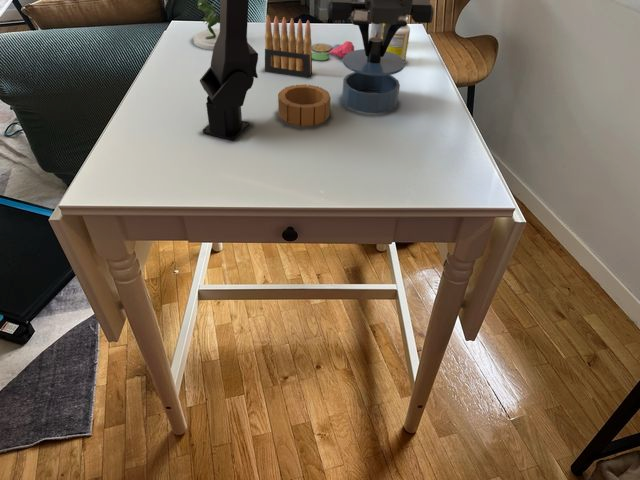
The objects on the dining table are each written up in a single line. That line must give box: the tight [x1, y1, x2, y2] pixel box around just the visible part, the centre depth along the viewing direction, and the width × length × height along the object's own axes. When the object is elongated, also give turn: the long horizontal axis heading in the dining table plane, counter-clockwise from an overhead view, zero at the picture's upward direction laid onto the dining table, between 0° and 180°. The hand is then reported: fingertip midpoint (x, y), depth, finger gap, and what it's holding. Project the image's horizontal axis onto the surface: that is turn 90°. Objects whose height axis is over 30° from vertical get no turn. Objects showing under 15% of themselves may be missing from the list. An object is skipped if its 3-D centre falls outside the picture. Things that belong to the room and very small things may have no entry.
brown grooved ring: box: [277, 84, 331, 127], centre depth 94 cm, size 10×10×4 cm
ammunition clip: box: [264, 14, 313, 79], centre depth 106 cm, size 11×2×12 cm, turn 75°
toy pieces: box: [311, 40, 355, 62], centre depth 117 cm, size 12×11×4 cm
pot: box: [341, 71, 401, 114], centre depth 99 cm, size 11×11×4 cm
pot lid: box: [342, 37, 406, 76], centre depth 93 cm, size 12×12×5 cm
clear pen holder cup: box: [369, 21, 386, 39], centre depth 119 cm, size 7×7×15 cm
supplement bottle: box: [386, 16, 411, 63], centre depth 113 cm, size 6×6×10 cm
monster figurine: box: [192, 0, 220, 51], centre depth 119 cm, size 12×12×10 cm
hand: (374, 55), depth 94 cm, fingers closed on pot lid, 3 cm apart
